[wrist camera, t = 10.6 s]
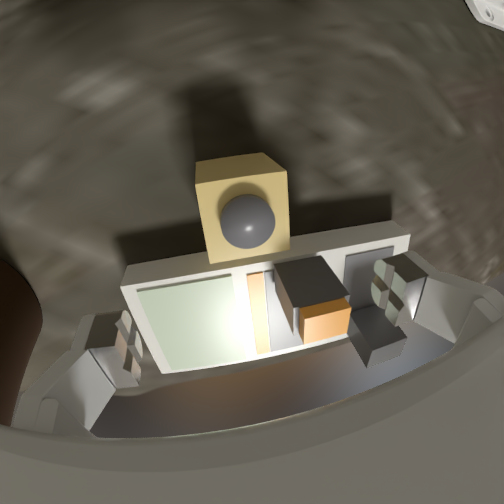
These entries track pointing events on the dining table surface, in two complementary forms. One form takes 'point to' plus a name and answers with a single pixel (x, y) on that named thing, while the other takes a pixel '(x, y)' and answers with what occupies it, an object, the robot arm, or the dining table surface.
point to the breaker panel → (244, 297)
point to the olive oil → (15, 335)
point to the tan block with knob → (243, 206)
